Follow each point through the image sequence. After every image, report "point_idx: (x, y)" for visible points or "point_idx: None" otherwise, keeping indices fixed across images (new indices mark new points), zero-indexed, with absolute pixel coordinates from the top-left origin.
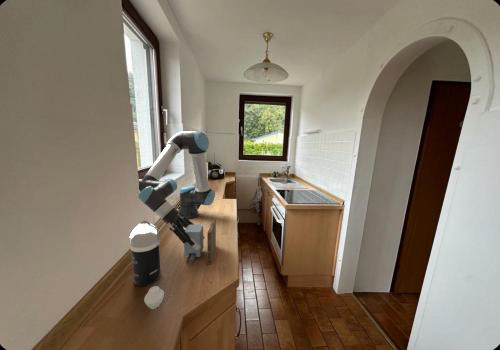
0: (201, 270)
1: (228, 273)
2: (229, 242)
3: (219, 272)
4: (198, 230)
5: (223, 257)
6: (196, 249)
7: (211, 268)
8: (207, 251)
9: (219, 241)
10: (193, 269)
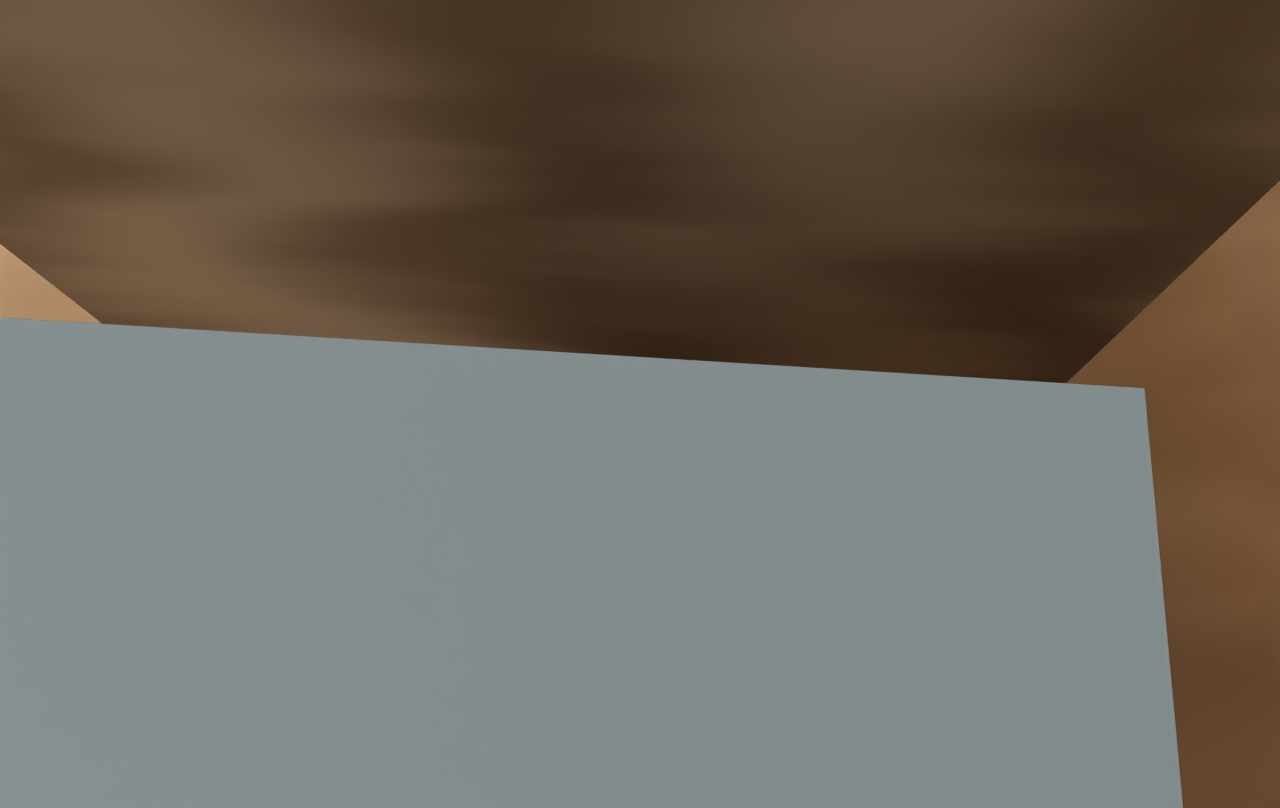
0: (1222, 560)
1: None
2: None
3: None
4: (814, 562)
5: None
6: None
7: (1128, 347)
8: (1151, 299)
9: (2, 249)
10: (1208, 769)
